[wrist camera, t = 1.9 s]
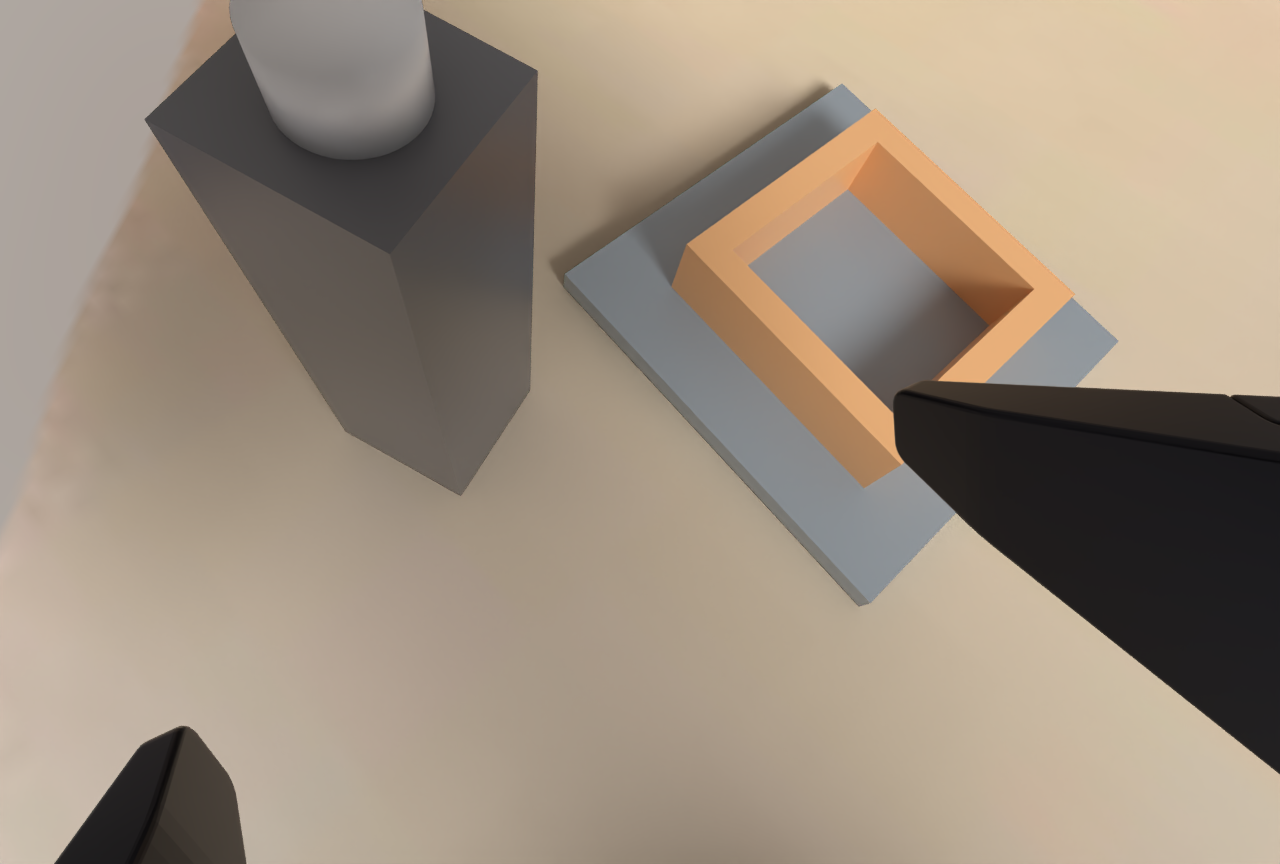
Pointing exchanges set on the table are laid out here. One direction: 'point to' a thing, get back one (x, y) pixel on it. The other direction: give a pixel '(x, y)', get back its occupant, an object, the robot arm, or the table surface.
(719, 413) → the holder
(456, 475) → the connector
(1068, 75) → the table surface
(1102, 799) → the table surface
